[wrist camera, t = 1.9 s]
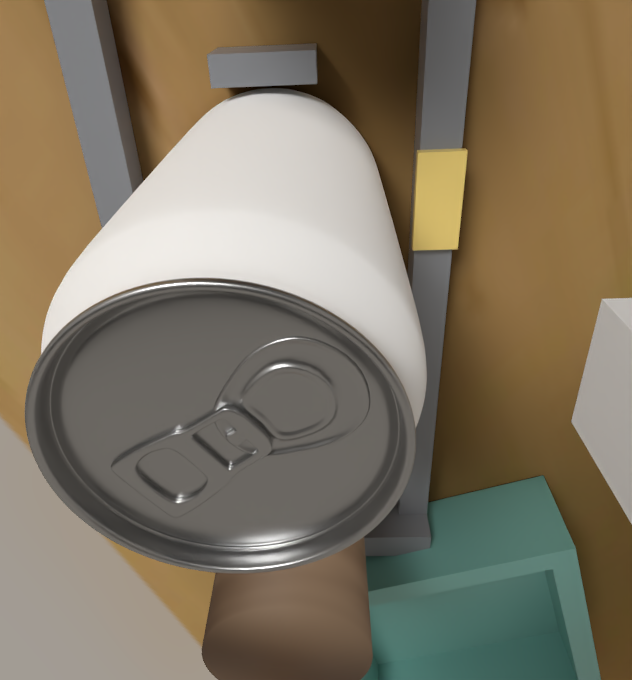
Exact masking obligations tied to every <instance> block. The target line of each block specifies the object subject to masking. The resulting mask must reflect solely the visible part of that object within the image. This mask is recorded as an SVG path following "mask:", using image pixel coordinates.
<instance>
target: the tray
mask: <svg viewBox="0 0 632 680" xmlns="http://www.w3.org/2000/svg"><path fill="white" fill-rule="evenodd" d="M427 517H428V523H429V528H430V533H431V544H430V548H429V549H424V550H420V551H415V552H411V553H406V554H401V555H397V556H366V569H367V582H368V596H369V610H370V624H371V637H372V651H373V659H372V664H371V667H370V669H369V670H368V672H367V673H366V675H365V676H364V677H363V678H362V679H361V680H601V677H600V672H599V667H598V662H597V657H596V651H595V646H594V641H593V636H592V631H591V625H590V620H589V615H588V610H587V604H586V599H585V594H584V589H583V584H582V578H581V573H580V568H579V563H578V558H577V552H576V548H575V546H574V543H573V541H572V539H571V537H570V534H569V532H568V530H567V528H566V525H565V523H564V521H563V518H562V516H561V514H560V512H559V509H558V507H557V505H556V503H555V500H554V498H553V496H552V494H551V491H550V489H549V487H548V485H547V482H546V480H545V478H544V476H543V475H542V476H538V477H534V478H530V479H525V480H521V481H517V482H513V483H509V484H504V485H500V486H496V487H492V488H487V489H483V490H479V491H475V492H470V493H466V494H462V495H458V496H453V497H449V498H445V499H441V500H437V501H432V502H428V507H427Z"/></svg>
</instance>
